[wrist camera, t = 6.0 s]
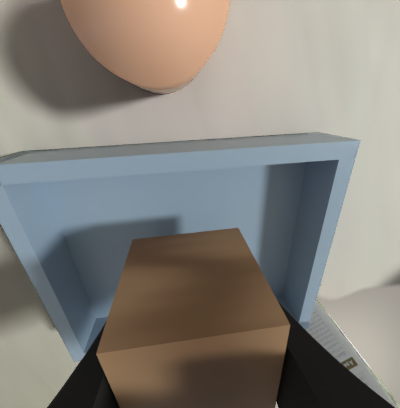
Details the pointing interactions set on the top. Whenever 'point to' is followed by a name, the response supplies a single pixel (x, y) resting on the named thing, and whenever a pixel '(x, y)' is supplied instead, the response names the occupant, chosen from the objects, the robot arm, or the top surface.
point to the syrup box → (344, 350)
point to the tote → (171, 214)
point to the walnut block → (194, 326)
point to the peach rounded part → (149, 37)
